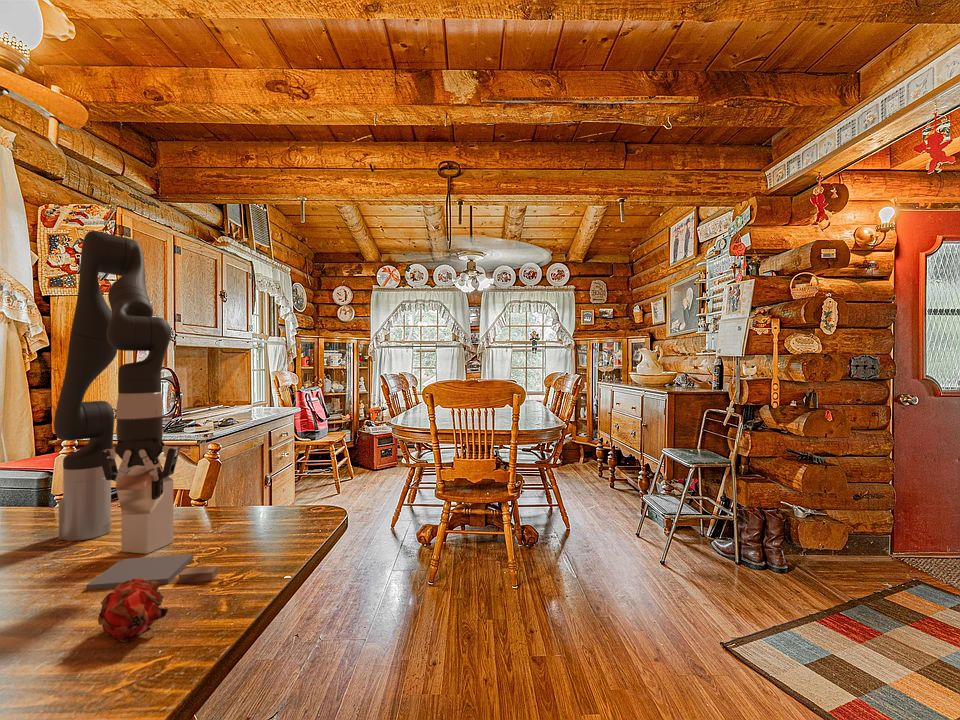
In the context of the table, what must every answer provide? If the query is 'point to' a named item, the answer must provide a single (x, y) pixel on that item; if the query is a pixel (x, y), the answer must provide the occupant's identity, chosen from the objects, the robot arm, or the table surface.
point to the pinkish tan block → (136, 492)
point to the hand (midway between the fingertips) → (140, 499)
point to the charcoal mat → (141, 570)
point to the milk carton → (149, 525)
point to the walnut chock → (198, 574)
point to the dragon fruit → (131, 608)
